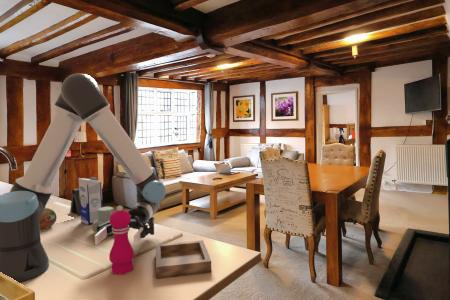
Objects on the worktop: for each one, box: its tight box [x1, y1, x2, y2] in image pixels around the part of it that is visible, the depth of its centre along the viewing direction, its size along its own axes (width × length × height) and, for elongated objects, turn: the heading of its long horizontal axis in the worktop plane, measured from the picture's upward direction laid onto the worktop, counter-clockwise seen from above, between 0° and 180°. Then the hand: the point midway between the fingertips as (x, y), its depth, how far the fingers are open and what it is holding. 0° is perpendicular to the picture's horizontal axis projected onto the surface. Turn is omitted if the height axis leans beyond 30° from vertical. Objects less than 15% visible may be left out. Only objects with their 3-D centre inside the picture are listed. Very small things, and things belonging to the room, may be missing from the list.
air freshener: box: [91, 206, 115, 236], centre depth 126 cm, size 11×8×10 cm
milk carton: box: [78, 176, 104, 227], centre depth 138 cm, size 7×7×20 cm
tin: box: [39, 207, 57, 231], centre depth 130 cm, size 15×3×8 cm, turn 126°
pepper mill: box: [108, 205, 135, 275], centre depth 95 cm, size 7×7×20 cm
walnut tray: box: [155, 240, 212, 279], centre depth 100 cm, size 16×16×4 cm
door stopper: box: [69, 187, 81, 217], centre depth 152 cm, size 9×6×12 cm, turn 52°
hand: (115, 240), depth 91 cm, fingers open, 11 cm apart
